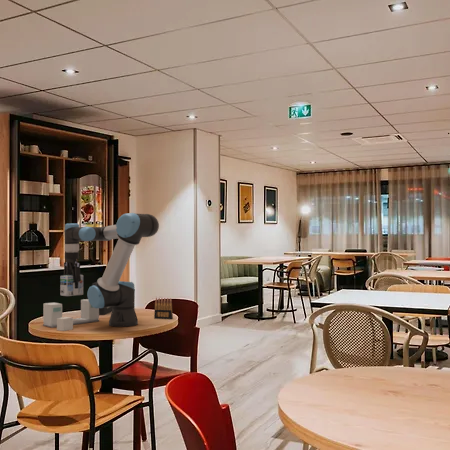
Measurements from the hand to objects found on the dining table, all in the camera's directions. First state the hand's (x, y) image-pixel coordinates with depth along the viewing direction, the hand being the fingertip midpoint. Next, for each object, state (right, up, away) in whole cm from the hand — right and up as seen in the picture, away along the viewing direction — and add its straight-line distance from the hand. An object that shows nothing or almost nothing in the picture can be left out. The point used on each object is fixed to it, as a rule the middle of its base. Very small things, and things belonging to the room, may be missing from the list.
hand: (71, 294), depth 279 cm
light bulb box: (0, -1, 0) cm, 1 cm away
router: (+8, -17, +37) cm, 42 cm away
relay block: (+2, -15, -19) cm, 25 cm away
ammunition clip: (+48, -16, +14) cm, 53 cm away
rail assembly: (0, -16, 0) cm, 16 cm away
